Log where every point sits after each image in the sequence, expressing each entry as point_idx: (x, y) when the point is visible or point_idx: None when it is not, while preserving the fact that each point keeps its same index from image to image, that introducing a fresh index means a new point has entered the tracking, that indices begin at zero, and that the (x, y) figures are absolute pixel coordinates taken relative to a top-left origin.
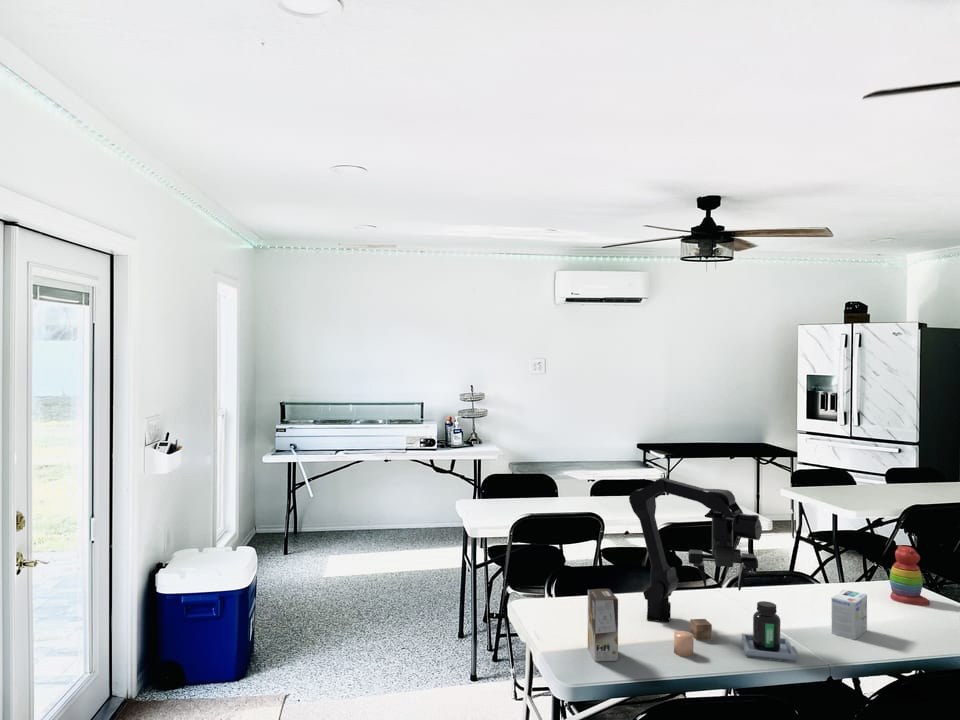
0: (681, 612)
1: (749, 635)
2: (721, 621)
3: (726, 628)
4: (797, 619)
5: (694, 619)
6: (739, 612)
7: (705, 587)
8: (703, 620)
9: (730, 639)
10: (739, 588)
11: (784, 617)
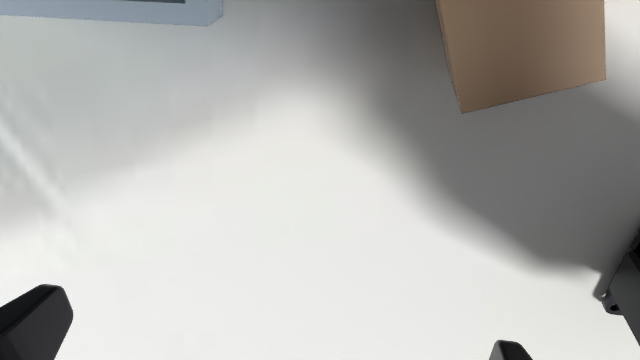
0: None
1: (156, 2)
2: (320, 263)
3: (302, 181)
4: None
5: (567, 81)
6: (233, 356)
7: (509, 342)
8: (488, 72)
9: (292, 7)
10: (29, 301)
11: None
